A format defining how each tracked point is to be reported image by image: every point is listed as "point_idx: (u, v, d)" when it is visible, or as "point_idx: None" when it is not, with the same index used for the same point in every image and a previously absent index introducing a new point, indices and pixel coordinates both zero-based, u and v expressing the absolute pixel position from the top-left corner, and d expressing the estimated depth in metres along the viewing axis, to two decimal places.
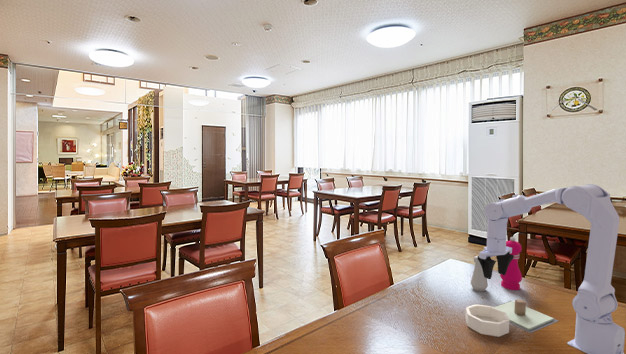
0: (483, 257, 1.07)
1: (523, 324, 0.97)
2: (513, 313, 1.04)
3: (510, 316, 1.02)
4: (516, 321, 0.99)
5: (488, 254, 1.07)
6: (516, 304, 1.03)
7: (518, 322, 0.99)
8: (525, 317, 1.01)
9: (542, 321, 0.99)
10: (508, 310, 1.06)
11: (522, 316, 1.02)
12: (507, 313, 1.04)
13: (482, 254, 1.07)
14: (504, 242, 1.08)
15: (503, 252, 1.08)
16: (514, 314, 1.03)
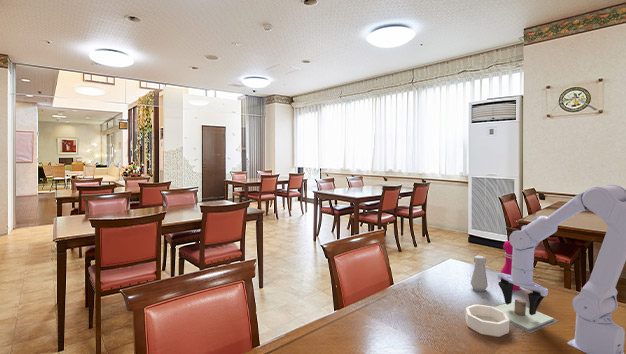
0: None
1: (523, 324, 0.97)
2: (513, 313, 1.04)
3: (510, 316, 1.02)
4: (516, 321, 0.99)
5: (502, 276, 1.07)
6: (516, 304, 1.03)
7: (518, 322, 0.99)
8: (525, 317, 1.01)
9: (542, 321, 0.99)
10: (508, 310, 1.06)
11: (522, 316, 1.02)
12: (507, 313, 1.04)
13: None
14: (516, 272, 1.01)
15: (514, 282, 1.02)
16: (514, 314, 1.03)
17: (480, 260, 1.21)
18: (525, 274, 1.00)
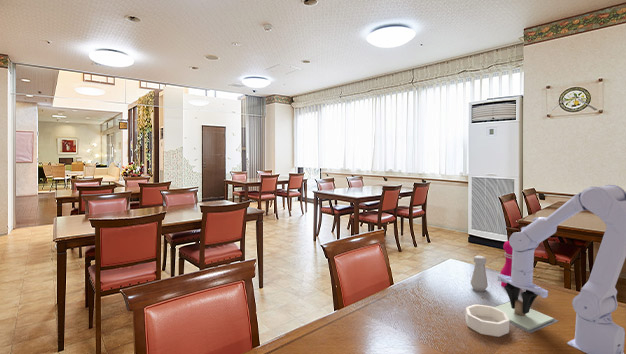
0: None
1: (523, 324, 0.97)
2: (513, 313, 1.04)
3: (510, 316, 1.02)
4: (516, 321, 0.99)
5: (502, 278, 1.07)
6: (516, 304, 1.03)
7: (518, 322, 0.99)
8: (525, 317, 1.01)
9: (542, 321, 0.99)
10: (508, 310, 1.06)
11: (522, 316, 1.02)
12: (507, 313, 1.04)
13: None
14: (516, 273, 1.01)
15: (514, 283, 1.02)
16: (514, 314, 1.03)
17: (480, 260, 1.21)
18: (525, 276, 1.00)
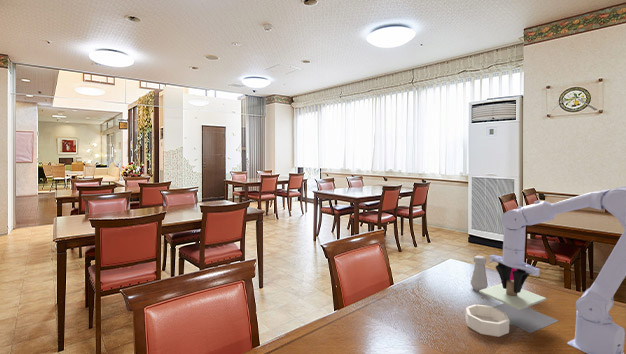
0: None
1: (514, 304, 0.95)
2: (505, 294, 1.02)
3: (501, 296, 1.00)
4: (507, 301, 0.97)
5: (493, 258, 1.05)
6: (507, 284, 1.01)
7: (509, 302, 0.96)
8: (517, 297, 0.99)
9: (534, 301, 0.97)
10: (500, 291, 1.04)
11: (514, 296, 1.00)
12: (498, 294, 1.02)
13: None
14: (507, 252, 0.99)
15: (505, 262, 1.00)
16: (505, 295, 1.01)
17: (480, 260, 1.21)
18: (516, 254, 0.98)
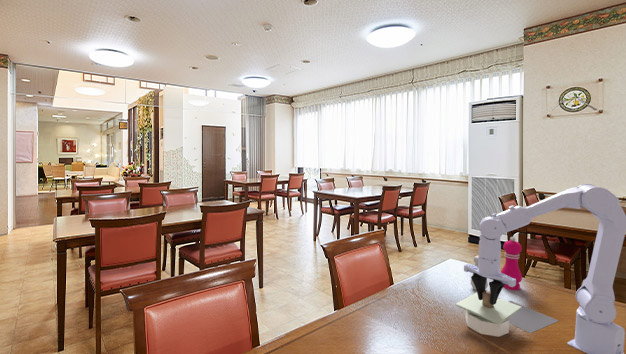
0: None
1: (493, 318, 0.91)
2: (481, 306, 0.98)
3: (479, 310, 0.96)
4: (485, 315, 0.93)
5: (468, 268, 1.01)
6: (484, 296, 0.97)
7: (487, 316, 0.92)
8: (494, 309, 0.95)
9: (511, 312, 0.94)
10: (476, 302, 1.00)
11: (491, 308, 0.96)
12: (475, 306, 0.98)
13: None
14: (484, 262, 0.95)
15: (482, 273, 0.95)
16: (482, 307, 0.97)
17: None
18: (493, 264, 0.94)
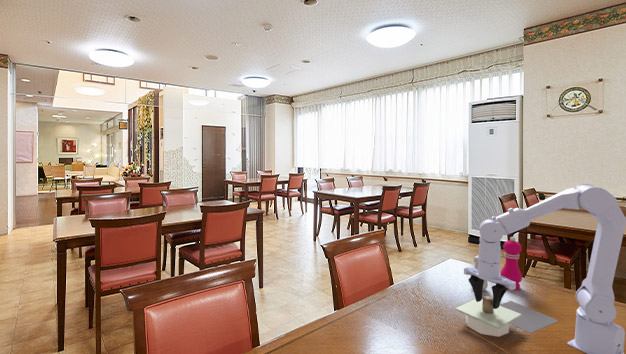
0: None
1: (492, 323, 0.91)
2: (481, 311, 0.98)
3: (478, 315, 0.96)
4: (485, 320, 0.93)
5: (468, 271, 1.01)
6: (484, 301, 0.97)
7: (487, 321, 0.92)
8: (493, 315, 0.96)
9: (511, 318, 0.94)
10: (476, 308, 1.00)
11: (491, 314, 0.96)
12: (475, 311, 0.98)
13: None
14: (484, 265, 0.95)
15: (482, 276, 0.96)
16: (482, 312, 0.97)
17: None
18: (492, 267, 0.94)
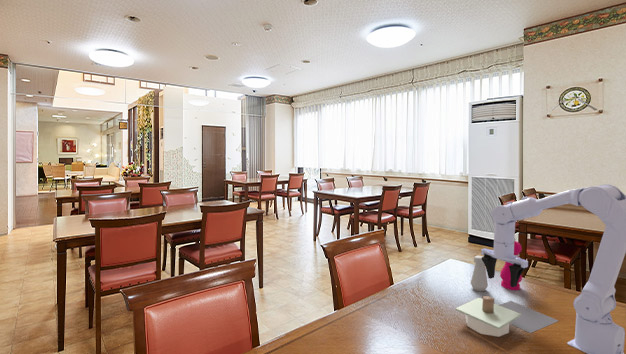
0: None
1: (492, 323, 0.91)
2: (481, 311, 0.98)
3: (478, 315, 0.96)
4: (485, 320, 0.93)
5: (485, 251, 1.10)
6: (484, 301, 0.97)
7: (487, 321, 0.92)
8: (493, 315, 0.96)
9: (511, 318, 0.94)
10: (476, 308, 1.00)
11: (491, 314, 0.96)
12: (475, 311, 0.98)
13: None
14: (498, 246, 1.04)
15: (496, 255, 1.05)
16: (482, 312, 0.97)
17: (480, 260, 1.21)
18: (506, 247, 1.03)
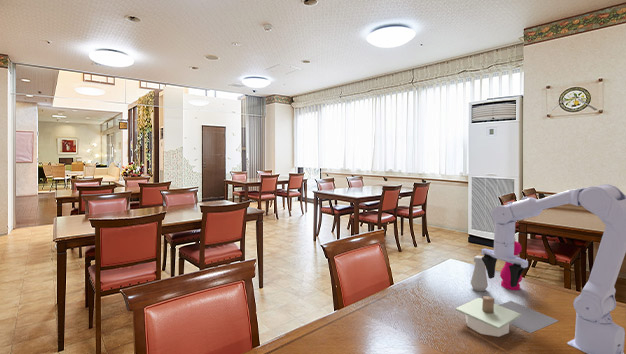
0: None
1: (492, 323, 0.91)
2: (481, 311, 0.98)
3: (478, 315, 0.96)
4: (485, 320, 0.93)
5: (485, 251, 1.10)
6: (484, 301, 0.97)
7: (487, 321, 0.92)
8: (493, 315, 0.96)
9: (511, 318, 0.94)
10: (476, 308, 1.00)
11: (491, 314, 0.96)
12: (475, 311, 0.98)
13: None
14: (498, 245, 1.04)
15: (496, 255, 1.05)
16: (482, 312, 0.97)
17: (480, 260, 1.21)
18: (506, 247, 1.03)
